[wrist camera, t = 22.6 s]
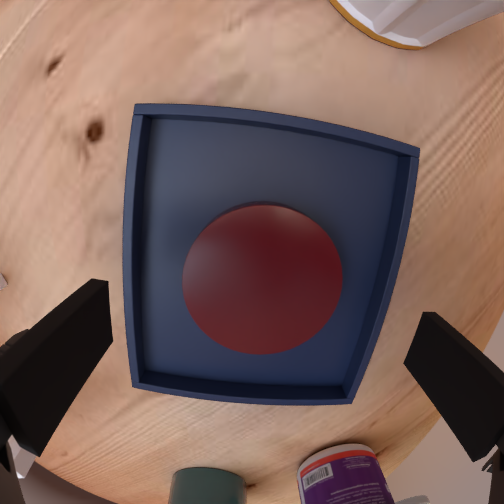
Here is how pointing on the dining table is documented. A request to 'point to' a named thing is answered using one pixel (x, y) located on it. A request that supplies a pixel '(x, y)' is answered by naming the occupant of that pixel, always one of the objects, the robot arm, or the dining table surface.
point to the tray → (247, 190)
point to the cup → (415, 18)
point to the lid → (262, 278)
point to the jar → (207, 487)
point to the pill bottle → (343, 477)
